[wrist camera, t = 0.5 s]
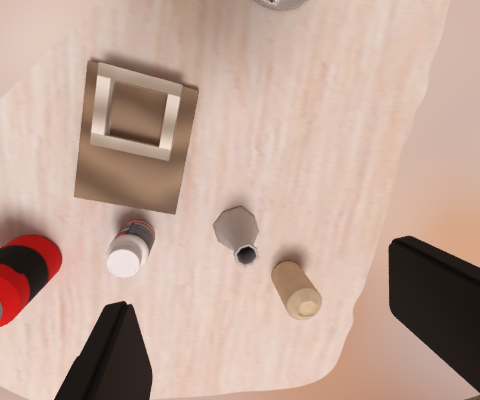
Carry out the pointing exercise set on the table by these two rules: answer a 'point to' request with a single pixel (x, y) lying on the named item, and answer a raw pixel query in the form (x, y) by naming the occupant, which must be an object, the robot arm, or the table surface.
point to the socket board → (133, 138)
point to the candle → (296, 291)
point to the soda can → (25, 272)
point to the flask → (238, 234)
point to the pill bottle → (130, 248)
